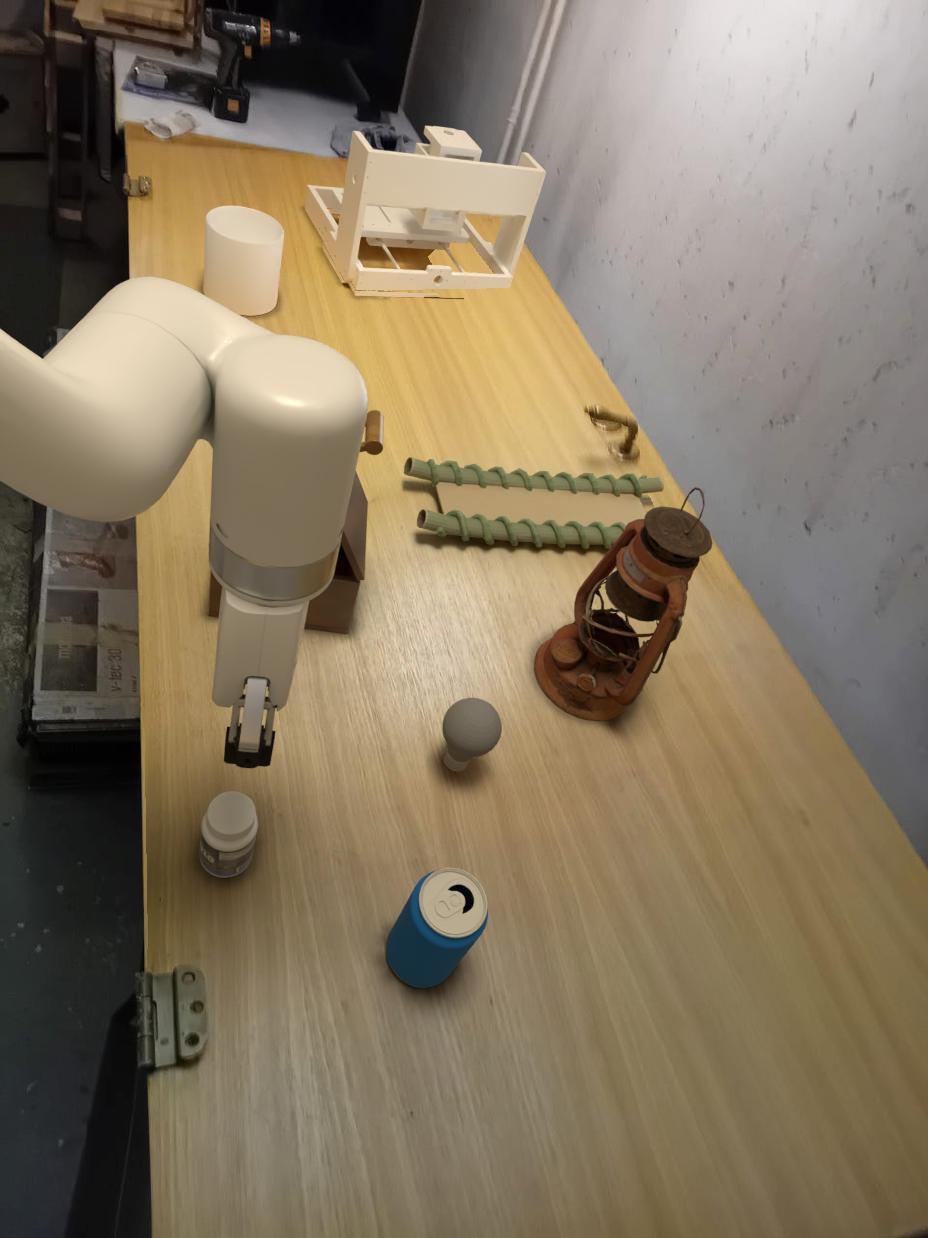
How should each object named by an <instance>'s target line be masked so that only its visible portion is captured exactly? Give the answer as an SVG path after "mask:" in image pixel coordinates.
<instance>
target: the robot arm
mask: <svg viewBox="0 0 928 1238" xmlns="http://www.w3.org/2000/svg"><path fill="white" fill-rule="evenodd" d="M368 409H369V394H368V390H367V386H366V383H365V380H364V378H363V376H362V374H361V372H360V370H359V369H358V367H356V365H355V364H354V363H353V362H352V361H351V360H350V359H349V358H348V357H346V356H345V355H344V354H342V353H341V352H339V351H338V350H337V349H335V348H334V347H331V346H329V345H327V344H325V343H323V342H320V341H318V340H314V339H311V338H307V337H305V336H299V335H293V334H277V333H275V332H273V331H272V330H269V329H267V328H265V327H263V326H261V325H259V324H257V323H255V322H253V321H252V320H250V319H248V318H246V317H244V316H243V315H239V314H237V313H235V312H233V311H232V310H230V309H228V308H226V307H224V306H223V305H221V304H219V303H218V302H216V301H214V300H212V299H210V298H209V297H207V296H205V295H204V293H201V292H199V291H197V290H196V289H193V288H192V287H189V286H187V285H185V284H182V283H180V282H177V281H174V280H170V279H167V278H163V277H158V276H138V277H133V278H129V279H127V280H125V281H122V282H120V283H119V284H116V285H115V286H114V287H113V288H112V289H110V290H109V291H107V292H106V294H105V295H103V296H102V297H101V299H100V300H99V301H98V302H96V304H95V305H94V306H93V307H92V308H91V309H90V310H89V312H87V313H86V314H85V316H83V317H82V319H81V320H80V321H78V323H76V325H74V326H73V328H71V330H70V331H69V332H68V333H67V334H66V335H64V336H63V338H62V339H60V341H59V342H58V343H57V344H56V345H55V346H54V347H53V348H52V349H51V350H50V351H49V352H48V353H47V354H46V355H45V356H44V357H43V358H42V357H40V355H38V354H36V353H35V352H33V351H32V350H30V349H29V348H27V347H26V346H25V345H23V344H22V343H20V342H19V341H17V340H16V339H15V338H13V337H12V336H11V335H9V334H8V333H7V332H5V331H4V330H3V329H1V328H0V482H2V483H3V484H5V485H6V486H8V487H10V488H11V489H13V490H14V491H16V492H18V493H20V494H21V495H24V496H25V497H27V498H29V499H31V500H32V501H35V502H36V503H38V504H40V505H43V506H45V507H47V508H49V509H52V510H54V511H56V512H59V513H61V514H63V515H66V516H70V517H73V518H76V519H80V520H83V521H84V520H85V521H88V522H89V521H91V522H98V523H115V522H121V521H126V520H129V519H132V518H134V517H137V516H139V515H142V514H144V513H145V512H146V511H148V510H149V509H150V508H152V507H153V506H154V505H155V504H156V503H158V501H160V499H162V497H163V496H164V495H165V493H166V492H167V491H168V489H169V488H170V486H171V485H172V483H173V482H174V480H175V479H176V477H177V476H178V474H179V472H180V471H181V469H182V468H183V466H184V465H185V464H186V462H187V460H188V458H189V456H190V454H191V453H192V451H193V449H194V448H195V446H196V444H197V442H198V441H199V440H204V441H206V442H207V443H208V444H209V445H210V447H211V448H212V449H211V450H212V463H211V482H210V483H211V484H210V485H211V487H210V506H209V508H210V513H209V533H208V534H209V535H208V566H209V568H210V572H211V571H212V573H213V575H214V577H215V578H216V579H217V581H218V582H219V583H220V584H221V585H222V593H221V601H220V610H219V617H218V620H217V622H218V623H217V632H216V634H217V635H216V647H215V648H216V649H215V660H214V671H213V680H212V691H211V700H212V702H213V703H214V705H215V706H217V707H221V708H231V707H232V708H231V717H230V722H229V723H230V725H229V726H226V731H225V737H224V738H225V739H224V751H223V753H224V754H223V762H224V763H225V764H228V765H235V766H236V767H238V768H240V769H241V768H242V769H256V768H258V767H269V766H271V762H272V757H273V751H274V745H275V744H274V743H275V739H276V730H273V728H274V721H275V713H276V712H279V711H281V710H282V709H284V708H285V706H287V703H288V700H289V696H290V693H291V692H290V691H291V687H292V684H293V679H294V676H295V672H296V667H297V662H298V659H299V654H300V650H301V645H302V642H303V641H302V640H303V635H304V630H305V628H304V626H305V621H306V615H307V610H308V605H309V600H312V599H313V598H315V597H317V596H318V595H320V594H321V593H322V592H323V591H324V590H325V589H326V588H327V587H328V585H329V584H330V583H331V581H332V578H333V576H334V572H335V567H336V562H337V558H338V553H339V548H340V543H341V538H342V532H343V528H344V524H345V519H346V513H347V508H348V504H349V499H350V495H351V490H352V486H353V481H354V476H355V471H356V472H357V465H358V461H359V458H360V457H359V456H360V453H361V452H360V447H361V443H362V442H363V437H364V434H365V429H366V427H365V424H366V418H367V413H368V412H369V411H368ZM244 690H245V693H244ZM267 692H268V694H267ZM266 694H267V696H266ZM242 708H243V712H242V718H241V711H242V710H241V709H242ZM265 710H266V714H265V722H264V725H263V718H264V711H265ZM240 718H241V719H242V720H241V722H240Z"/></svg>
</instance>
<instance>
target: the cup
mask: <svg viewBox="0 0 928 1238" xmlns="http://www.w3.org/2000/svg"><path fill="white" fill-rule="evenodd" d="M284 239H285V230H284V228H283V226H282V224H281V223H280V222H279V221H278V220H277V219H275V218H274V217H272V216H271V215H269V214H268V213H265V212H263V211H261V210H257V209H254V208H251V207H247V206H240V205H222V206H217V207H214V208H212V209H211V210H209V211H208V212H207V213H206V215H205V222H204V250H203V251H204V254H203V255H204V256H203V280H202V281H203V283H202V284H203V285H202V290H203V291H202V292H203V295H205V296H207V297H209V298H210V299H212V300H214V301H216V302H218V303H219V304H221V305H223V306H224V307H226V308H228V309H230V310H232V311H233V312H235V313H237V314H239V315H241V316H247V317H249V316H250V317H251V316H252V317H254V316H261V315H265V314H267V313H270V312H271V311H273V310H274V309H275V308H276V306H277V304H278V297H279V296H278V295H279V286H280V276H281V269H282V258H283V249H284Z"/></svg>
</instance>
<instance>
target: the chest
mask: <svg viewBox="0 0 928 1238" xmlns="http://www.w3.org/2000/svg"><path fill="white" fill-rule="evenodd" d="M360 586H361V581H357V579H356V576H355V574H354V572H353V569H352V567H351V565H350V563H349V560H348V558H347V556H346V554H345V551H344V549H343V547H342V544H341V543H340V548H339V553H338V558H337V562H336V567H335V572H334V576H333V578H332V581H331V583H330V584H329V585H328V587H327V588H326V589H325V590H324V591H323V592H322V593H321V594H320V595H318V596H317V597H315V598H313V599H312V600H309V605H308V610H307V615H306V621H305V626H304V629H309V630H315V631H322V632H323V631H324V632H330V633H337V634H338V633H339V634H346V635H347V634H348V633H349V629H350V626H351V625H350V624H351V622H352V618H353V614H354V610H355V606H356V602H357V597H358V593H359V590H360ZM208 593H209V595H208V597H209V598H208V612H207V613H208V616H209V617H216V618H217V617H218V618H219V610H220V601H221V593H222V585H221V584H220V583H219V582H218V581H217V579H216V578H215V577H214V575H213V573H212V571H211V570H210V575H209V591H208Z"/></svg>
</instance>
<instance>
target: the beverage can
mask: <svg viewBox="0 0 928 1238" xmlns="http://www.w3.org/2000/svg"><path fill="white" fill-rule="evenodd" d="M488 905H489V904H488V897H487V894H486V892H485V889H484V887H483V885H482V883H480V881H479V880H478V879H477V878H476V877H475V876H474V875H473V874H471V873H470V872H468V871H466V870H464V869H461V868H458V867H457V868H456V867H443V868H440V869H436V870H432V871H430V872H429V873H427V874H425V875H424V876H423V877H422V878H420V879H419V881H417V883H416V884H415V886H414V888H413V889H412V891H411V893H410V895H409V897H408V899H407V900H406V902H405V904H404V906H403V908H402V910H401V911H400V913H399V915H398V916H397V919H396V920H395V922H394V924H393V926H392V928H391V929H390V931H389V934H388V936H387V940H386V945H385V946H386V948H385V949H386V958H387V961H388V964H389V966H390V968H391V970H392V971H393V973H394V974H395V975H396V976H397V977H398V978H399V979H400V980H401V981H403V983H405V984H407V985H409V986H412V987H415V988H425V989H426V988H431V987H435V986H437V985H439V984H442V983H443V982H444V981H446V979H448V977H449V976H450V975H451V974H452V973H453V972H454V970H455V969H456V968H457V966H458V965H459V964H460V962H461V961H462V960H463V959H464V958H465V956H466V955H467V953H468V952H469V951H470V950H471V948H472V947H473V946H474V945H475V943H476V942H477V941H478V939H479V938H481V935H482V934H483V933H484V931H485V929H486V927H487V924H488V919H489V906H488Z"/></svg>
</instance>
